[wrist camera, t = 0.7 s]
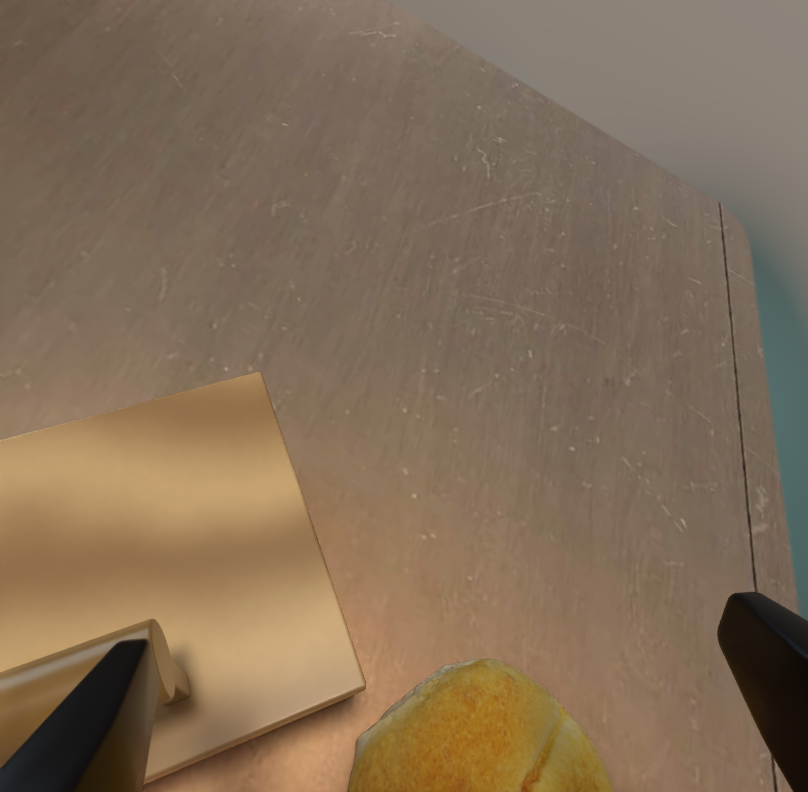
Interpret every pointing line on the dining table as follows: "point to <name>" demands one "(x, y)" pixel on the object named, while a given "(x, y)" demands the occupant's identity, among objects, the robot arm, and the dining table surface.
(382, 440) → the dining table surface
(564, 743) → the bread roll
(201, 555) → the box door
